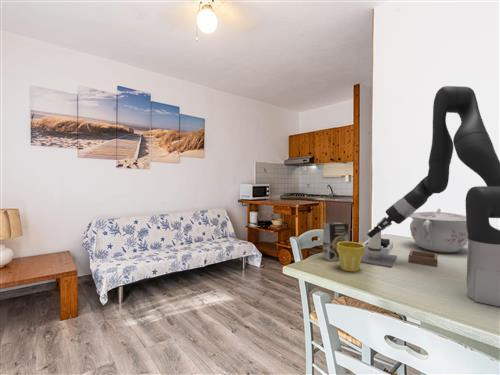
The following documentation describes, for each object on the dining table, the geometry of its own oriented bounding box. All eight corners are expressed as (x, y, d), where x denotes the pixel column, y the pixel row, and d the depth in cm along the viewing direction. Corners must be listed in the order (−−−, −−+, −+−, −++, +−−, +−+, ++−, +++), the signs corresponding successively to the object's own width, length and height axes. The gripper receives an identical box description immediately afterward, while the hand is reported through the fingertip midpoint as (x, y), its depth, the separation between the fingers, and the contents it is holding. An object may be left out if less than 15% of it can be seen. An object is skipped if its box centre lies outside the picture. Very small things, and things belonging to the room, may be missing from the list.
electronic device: (369, 251, 131) (369, 241, 131) (373, 246, 140) (373, 237, 140) (386, 253, 127) (386, 243, 127) (389, 248, 136) (389, 239, 136)
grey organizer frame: (388, 254, 126) (388, 248, 125) (361, 250, 132) (361, 245, 132) (392, 247, 139) (393, 242, 138) (368, 243, 146) (368, 239, 145)
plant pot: (369, 269, 104) (369, 244, 104) (356, 275, 97) (356, 249, 97) (344, 263, 112) (345, 240, 112) (331, 268, 105) (331, 243, 105)
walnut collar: (437, 266, 107) (437, 259, 107) (408, 262, 113) (408, 255, 113) (437, 260, 115) (437, 253, 115) (410, 256, 121) (410, 250, 121)
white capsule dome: (379, 260, 114) (380, 232, 113) (366, 257, 117) (367, 230, 117) (381, 256, 119) (382, 230, 118) (369, 254, 122) (369, 228, 121)
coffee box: (330, 261, 114) (330, 224, 113) (322, 257, 120) (322, 222, 119) (348, 260, 116) (349, 223, 116) (340, 256, 122) (340, 221, 122)
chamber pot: (446, 243, 148) (446, 205, 147) (489, 257, 120) (490, 211, 119) (395, 242, 148) (395, 205, 147) (426, 257, 121) (427, 211, 120)
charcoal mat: (391, 267, 106) (391, 266, 106) (349, 260, 115) (349, 259, 115) (396, 256, 121) (396, 255, 121) (359, 251, 130) (359, 250, 130)
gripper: (395, 202, 119) (368, 225, 126) (391, 205, 107) (361, 230, 114) (409, 215, 116) (380, 238, 123) (406, 219, 104) (374, 244, 111)
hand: (371, 234), depth 119 cm, fingers open, 8 cm apart
